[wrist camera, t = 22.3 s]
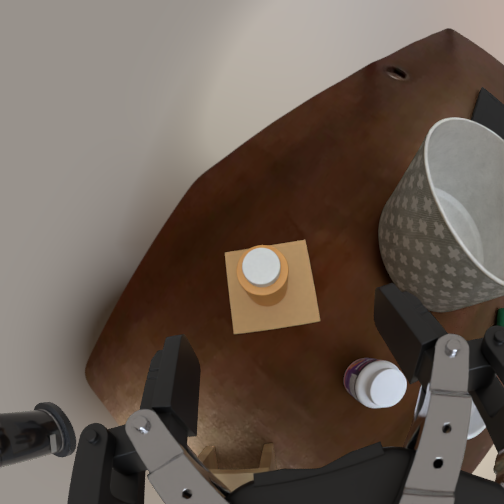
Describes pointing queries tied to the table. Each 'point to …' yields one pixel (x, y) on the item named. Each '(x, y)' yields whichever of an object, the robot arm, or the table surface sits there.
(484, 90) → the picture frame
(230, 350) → the table surface
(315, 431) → the table surface
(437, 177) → the planter
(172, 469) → the robot arm
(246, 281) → the amber bottle
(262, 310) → the coaster
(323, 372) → the table surface
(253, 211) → the table surface
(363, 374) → the pill bottle
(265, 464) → the miniature wooden chair
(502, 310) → the gaming controller
